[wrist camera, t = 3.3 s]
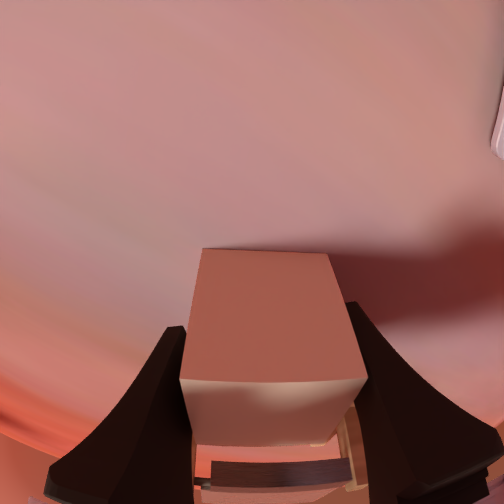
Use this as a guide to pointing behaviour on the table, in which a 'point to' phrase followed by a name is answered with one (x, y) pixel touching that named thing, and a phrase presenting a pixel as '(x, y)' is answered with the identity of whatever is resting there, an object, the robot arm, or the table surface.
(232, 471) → the trapdoor
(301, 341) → the beige block
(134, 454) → the robot arm
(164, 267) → the table surface
